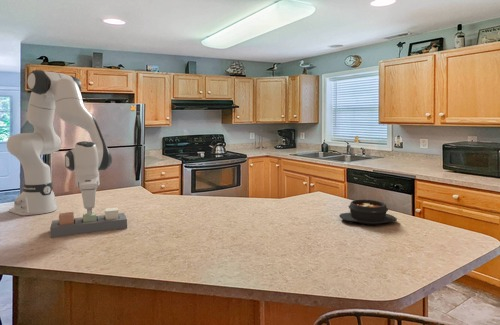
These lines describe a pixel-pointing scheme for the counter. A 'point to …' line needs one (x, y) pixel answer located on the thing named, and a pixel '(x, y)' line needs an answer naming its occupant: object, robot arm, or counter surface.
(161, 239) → the counter surface
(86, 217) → the sage green block
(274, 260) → the counter surface
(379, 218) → the casserole
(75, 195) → the counter surface
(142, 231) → the counter surface
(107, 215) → the cream block
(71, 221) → the terracotta block
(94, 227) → the console
